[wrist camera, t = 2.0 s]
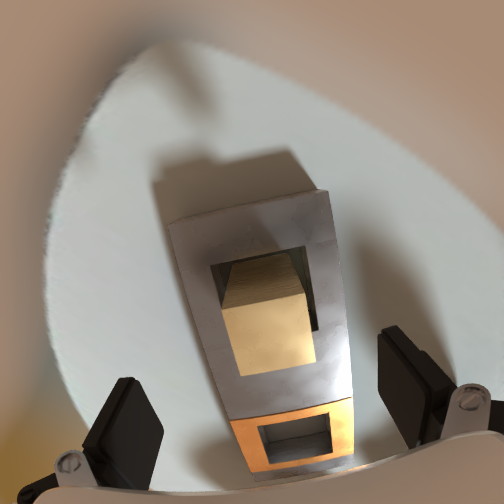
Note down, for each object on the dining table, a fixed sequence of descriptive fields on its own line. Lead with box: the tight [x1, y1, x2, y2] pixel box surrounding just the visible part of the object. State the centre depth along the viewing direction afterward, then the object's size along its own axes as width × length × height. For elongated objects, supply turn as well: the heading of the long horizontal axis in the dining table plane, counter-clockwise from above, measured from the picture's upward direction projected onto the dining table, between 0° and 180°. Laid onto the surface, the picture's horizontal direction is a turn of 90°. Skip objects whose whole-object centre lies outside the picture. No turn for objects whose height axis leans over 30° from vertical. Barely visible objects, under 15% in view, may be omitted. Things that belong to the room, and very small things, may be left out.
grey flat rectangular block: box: [167, 189, 354, 481], centre depth 22 cm, size 10×26×3 cm, turn 12°
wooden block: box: [221, 253, 316, 376], centre depth 18 cm, size 4×4×8 cm
